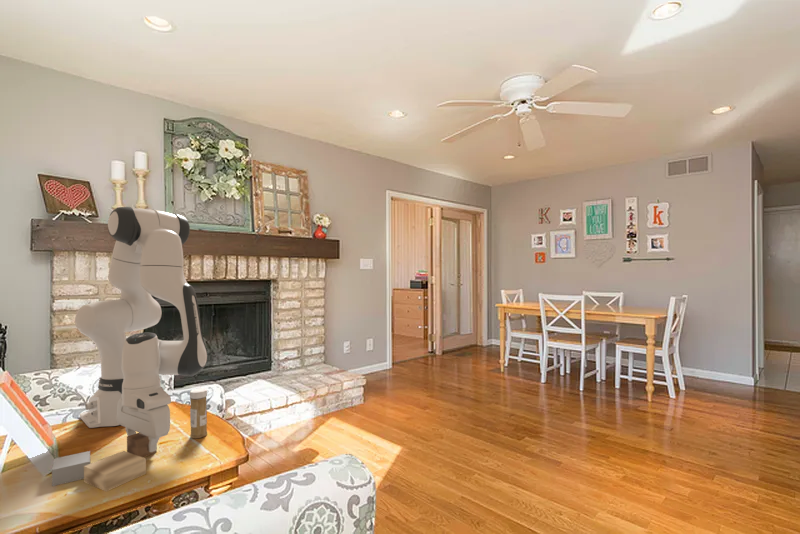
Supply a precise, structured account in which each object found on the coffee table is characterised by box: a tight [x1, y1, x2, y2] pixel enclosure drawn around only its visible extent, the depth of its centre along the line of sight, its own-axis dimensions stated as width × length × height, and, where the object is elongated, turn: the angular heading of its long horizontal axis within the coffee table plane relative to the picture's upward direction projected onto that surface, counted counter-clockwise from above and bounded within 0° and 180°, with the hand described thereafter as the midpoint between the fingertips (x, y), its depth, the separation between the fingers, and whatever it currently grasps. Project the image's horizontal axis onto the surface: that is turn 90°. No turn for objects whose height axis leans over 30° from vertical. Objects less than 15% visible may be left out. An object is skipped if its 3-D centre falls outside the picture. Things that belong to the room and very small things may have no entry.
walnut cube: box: [126, 432, 157, 458], centre depth 114 cm, size 5×5×5 cm
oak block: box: [83, 450, 147, 492], centre depth 101 cm, size 9×9×4 cm
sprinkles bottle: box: [189, 388, 208, 439], centre depth 126 cm, size 5×5×14 cm
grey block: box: [51, 450, 91, 487], centre depth 102 cm, size 7×7×4 cm
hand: (142, 446), depth 114 cm, fingers open, 8 cm apart
